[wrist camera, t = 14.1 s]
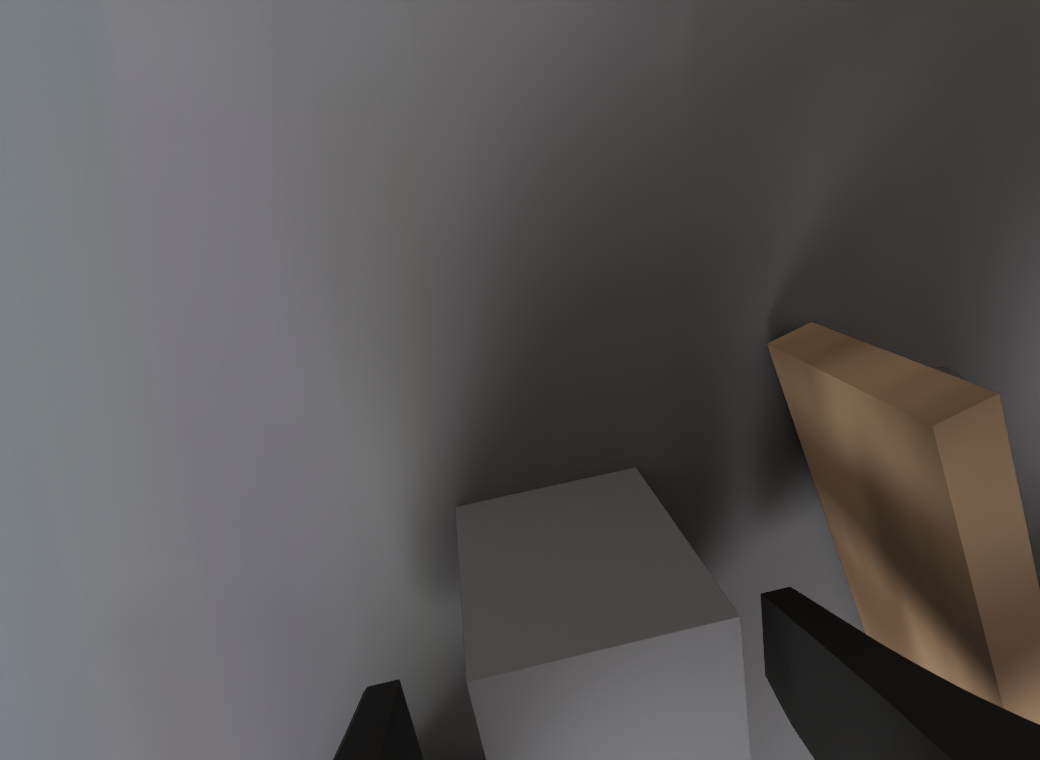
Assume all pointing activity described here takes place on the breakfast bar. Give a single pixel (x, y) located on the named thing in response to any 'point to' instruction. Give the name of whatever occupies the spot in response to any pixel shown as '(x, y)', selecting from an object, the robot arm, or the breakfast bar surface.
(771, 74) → the breakfast bar surface
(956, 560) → the door
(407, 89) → the breakfast bar surface
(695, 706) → the block
